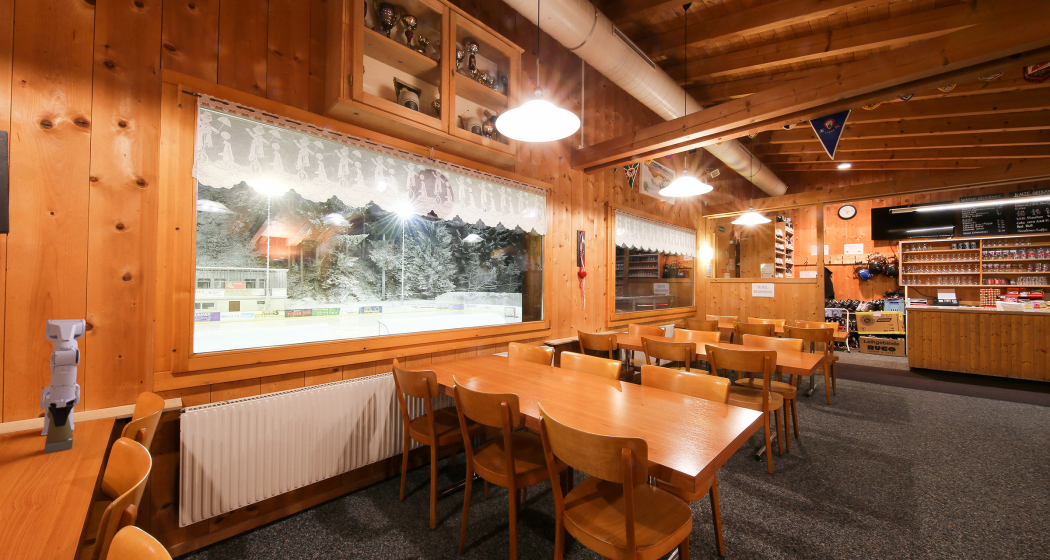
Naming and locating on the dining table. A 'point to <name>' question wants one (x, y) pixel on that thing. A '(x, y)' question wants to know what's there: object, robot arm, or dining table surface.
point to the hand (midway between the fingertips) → (60, 424)
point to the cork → (58, 431)
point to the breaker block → (58, 445)
